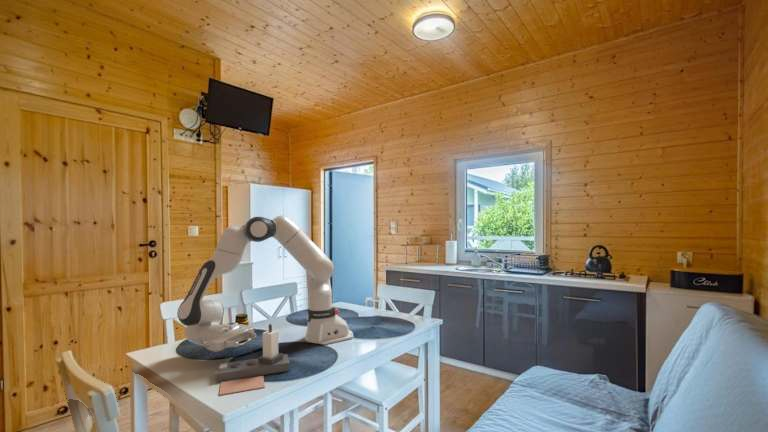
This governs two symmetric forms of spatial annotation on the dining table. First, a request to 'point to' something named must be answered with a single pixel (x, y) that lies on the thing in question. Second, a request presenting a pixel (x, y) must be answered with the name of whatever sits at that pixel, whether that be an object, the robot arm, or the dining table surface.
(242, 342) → the condiment
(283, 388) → the dining table surface
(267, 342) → the block
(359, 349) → the dining table surface
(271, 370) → the power strip
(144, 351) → the dining table surface
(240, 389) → the mat
